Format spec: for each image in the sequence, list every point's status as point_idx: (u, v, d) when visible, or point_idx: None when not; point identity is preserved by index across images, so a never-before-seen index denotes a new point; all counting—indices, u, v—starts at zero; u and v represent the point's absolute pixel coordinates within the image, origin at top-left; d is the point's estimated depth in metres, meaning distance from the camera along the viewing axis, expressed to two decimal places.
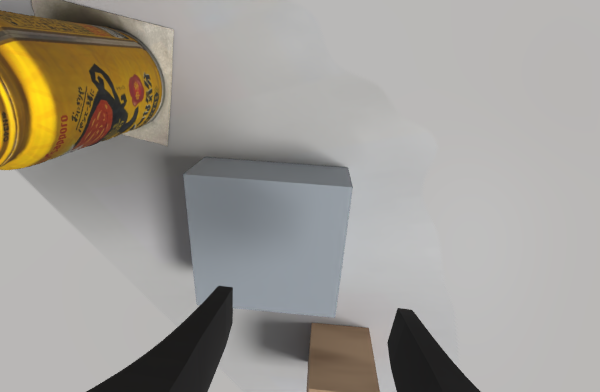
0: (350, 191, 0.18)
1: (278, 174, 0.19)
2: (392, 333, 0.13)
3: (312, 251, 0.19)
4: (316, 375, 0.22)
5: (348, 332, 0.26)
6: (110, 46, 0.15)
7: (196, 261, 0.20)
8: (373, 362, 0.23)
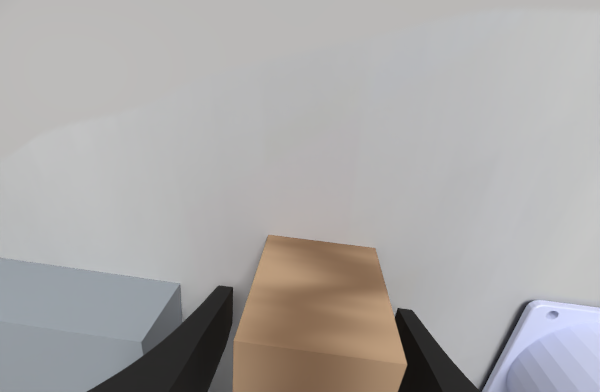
0: None
1: None
2: None
3: (25, 356, 0.13)
4: None
5: None
6: None
7: None
8: (252, 284, 0.11)
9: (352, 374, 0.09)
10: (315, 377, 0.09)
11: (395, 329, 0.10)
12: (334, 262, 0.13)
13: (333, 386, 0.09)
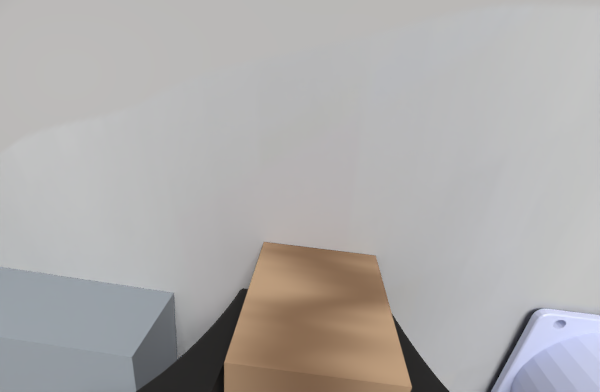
0: None
1: None
2: None
3: (9, 370, 0.13)
4: None
5: None
6: None
7: None
8: (246, 297, 0.11)
9: None
10: None
11: (398, 347, 0.09)
12: (333, 272, 0.12)
13: None
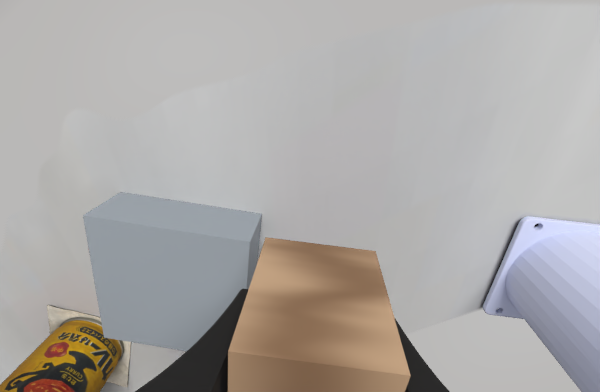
0: (87, 217, 0.18)
1: None
2: None
3: (161, 255, 0.19)
4: None
5: None
6: (27, 358, 0.23)
7: (188, 348, 0.22)
8: None
9: (353, 386, 0.09)
10: (313, 388, 0.09)
11: (397, 337, 0.09)
12: (333, 266, 0.12)
13: None
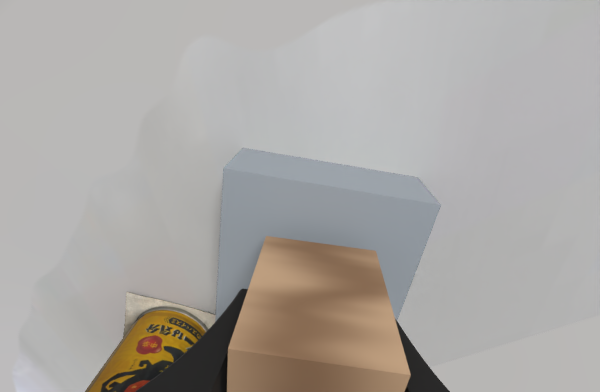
0: (229, 170, 0.14)
1: None
2: None
3: (316, 222, 0.15)
4: None
5: None
6: (113, 355, 0.19)
7: None
8: None
9: (353, 385, 0.09)
10: (313, 387, 0.09)
11: (398, 337, 0.09)
12: (334, 265, 0.12)
13: None
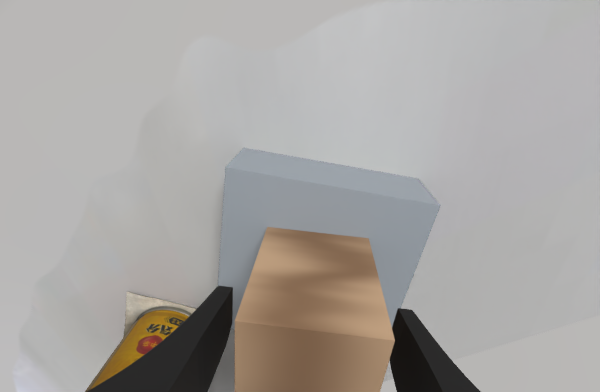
0: (231, 170, 0.14)
1: None
2: None
3: (316, 222, 0.15)
4: None
5: None
6: (114, 354, 0.19)
7: None
8: (252, 271, 0.12)
9: (345, 351, 0.10)
10: (310, 354, 0.10)
11: (385, 310, 0.10)
12: (329, 251, 0.13)
13: (327, 362, 0.10)
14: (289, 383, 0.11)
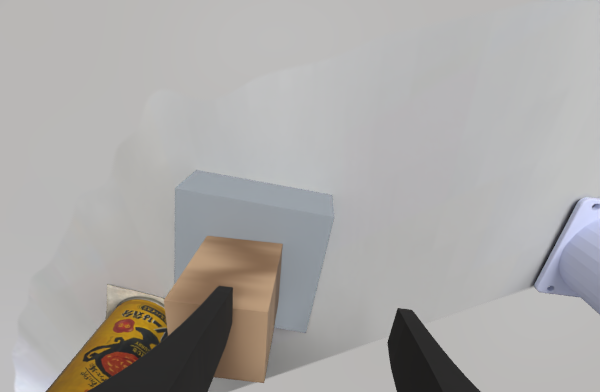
0: (179, 190, 0.19)
1: None
2: (392, 333, 0.13)
3: (245, 229, 0.20)
4: None
5: None
6: (95, 334, 0.24)
7: None
8: None
9: (238, 320, 0.15)
10: None
11: (270, 294, 0.15)
12: (247, 254, 0.18)
13: None
14: None
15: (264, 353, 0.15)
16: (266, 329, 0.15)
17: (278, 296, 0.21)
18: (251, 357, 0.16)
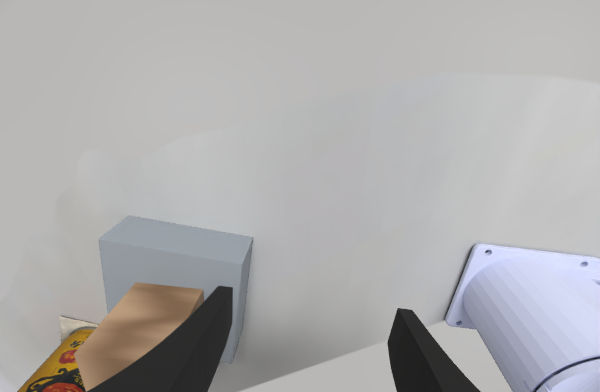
0: (102, 241, 0.21)
1: None
2: (392, 333, 0.13)
3: (165, 273, 0.22)
4: None
5: None
6: (43, 364, 0.26)
7: None
8: (105, 319, 0.19)
9: None
10: None
11: None
12: (166, 301, 0.21)
13: None
14: None
15: None
16: None
17: None
18: None
